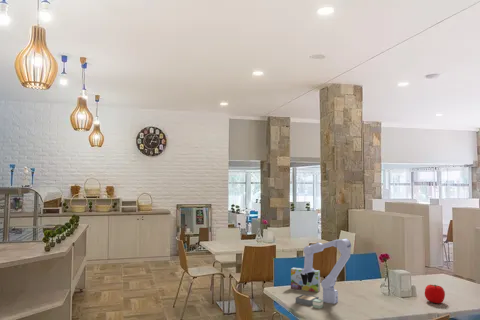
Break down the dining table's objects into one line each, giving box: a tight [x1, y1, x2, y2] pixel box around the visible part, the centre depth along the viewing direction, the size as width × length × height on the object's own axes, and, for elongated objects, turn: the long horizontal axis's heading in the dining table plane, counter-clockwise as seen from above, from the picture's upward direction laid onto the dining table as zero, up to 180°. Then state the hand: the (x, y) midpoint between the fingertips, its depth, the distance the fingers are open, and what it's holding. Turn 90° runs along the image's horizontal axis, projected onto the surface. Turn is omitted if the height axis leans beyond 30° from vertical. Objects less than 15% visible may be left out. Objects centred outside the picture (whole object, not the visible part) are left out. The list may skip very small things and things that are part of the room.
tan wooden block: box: [299, 294, 317, 300], centre depth 262 cm, size 8×8×3 cm
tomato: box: [424, 284, 446, 304], centre depth 267 cm, size 12×13×12 cm
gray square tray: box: [295, 293, 319, 307], centre depth 262 cm, size 11×11×4 cm
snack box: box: [290, 267, 321, 293], centre depth 297 cm, size 21×6×15 cm, turn 62°
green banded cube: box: [312, 299, 324, 310], centre depth 252 cm, size 5×5×5 cm
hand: (307, 283), depth 274 cm, fingers open, 7 cm apart
